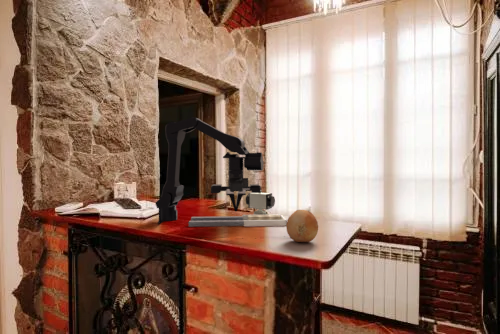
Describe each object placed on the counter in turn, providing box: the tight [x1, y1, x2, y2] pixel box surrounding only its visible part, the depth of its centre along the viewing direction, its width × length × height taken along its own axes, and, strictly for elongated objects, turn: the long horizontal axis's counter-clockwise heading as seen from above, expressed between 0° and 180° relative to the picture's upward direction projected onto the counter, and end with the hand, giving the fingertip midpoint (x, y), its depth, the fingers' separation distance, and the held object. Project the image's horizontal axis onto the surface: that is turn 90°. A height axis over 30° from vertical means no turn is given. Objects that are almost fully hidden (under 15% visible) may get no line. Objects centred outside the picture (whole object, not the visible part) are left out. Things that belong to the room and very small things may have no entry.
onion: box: [285, 209, 319, 243], centre depth 95 cm, size 10×10×10 cm
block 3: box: [269, 215, 280, 220], centre depth 119 cm, size 4×4×3 cm
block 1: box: [247, 214, 259, 220], centre depth 119 cm, size 4×4×3 cm
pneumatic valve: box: [245, 192, 276, 215], centre depth 131 cm, size 6×12×12 cm, turn 63°
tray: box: [241, 213, 288, 227], centre depth 119 cm, size 16×12×3 cm
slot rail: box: [188, 215, 245, 228], centre depth 117 cm, size 20×10×3 cm, turn 94°
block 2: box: [259, 215, 270, 220], centre depth 119 cm, size 4×4×3 cm
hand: (235, 211), depth 118 cm, fingers closed
